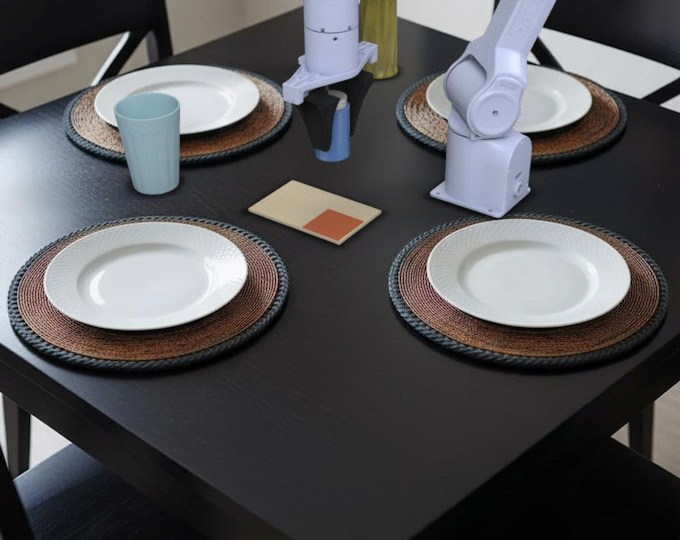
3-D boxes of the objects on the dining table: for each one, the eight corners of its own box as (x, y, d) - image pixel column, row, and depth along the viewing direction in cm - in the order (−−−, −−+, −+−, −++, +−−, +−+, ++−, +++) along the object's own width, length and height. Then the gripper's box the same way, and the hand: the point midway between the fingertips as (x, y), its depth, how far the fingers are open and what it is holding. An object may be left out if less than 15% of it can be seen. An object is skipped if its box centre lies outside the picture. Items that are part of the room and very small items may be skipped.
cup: (110, 188, 127) (99, 109, 121) (153, 163, 132) (144, 86, 126) (157, 205, 123) (148, 125, 117) (200, 179, 128) (193, 101, 123)
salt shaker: (357, 151, 118) (357, 94, 114) (336, 165, 115) (335, 106, 112) (328, 142, 120) (327, 85, 116) (307, 155, 117) (305, 98, 114)
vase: (357, 80, 153) (357, -16, 145) (356, 64, 158) (356, -30, 150) (399, 79, 153) (401, -17, 145) (396, 63, 158) (399, -30, 150)
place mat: (381, 213, 121) (381, 209, 121) (339, 245, 115) (339, 241, 115) (292, 182, 127) (292, 179, 127) (248, 211, 122) (248, 207, 121)
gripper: (341, -3, 116) (342, 109, 124) (257, 36, 106) (264, 155, 114) (394, 9, 113) (391, 124, 120) (312, 51, 103) (315, 173, 110)
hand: (332, 140), depth 117 cm, fingers closed on salt shaker, 4 cm apart
